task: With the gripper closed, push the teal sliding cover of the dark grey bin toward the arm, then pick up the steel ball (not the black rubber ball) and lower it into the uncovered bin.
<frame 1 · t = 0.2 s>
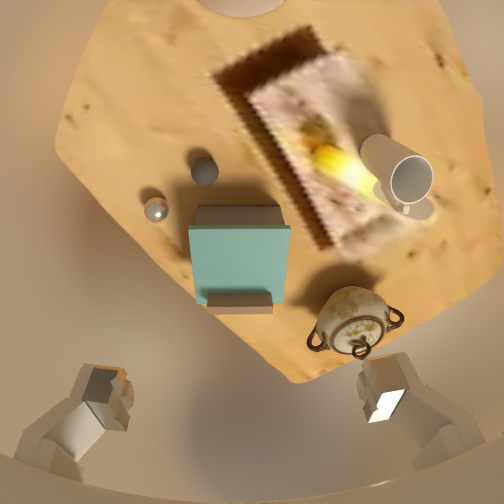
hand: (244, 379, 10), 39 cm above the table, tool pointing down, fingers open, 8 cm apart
sugar bowl: (345, 299, 62), on the table
mug: (376, 161, 45), on the table
lid: (239, 274, 45), point 9 cm above the table, slide at 0.0 cm
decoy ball: (206, 167, 45), on the table
steel ball: (159, 204, 48), on the table
bin: (239, 239, 53), on the table
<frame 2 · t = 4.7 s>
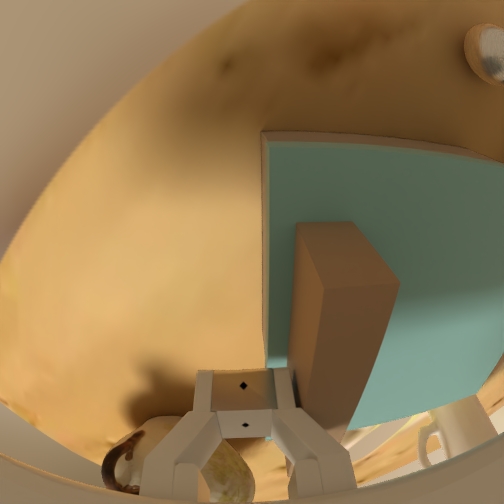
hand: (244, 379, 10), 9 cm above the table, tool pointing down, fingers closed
sugar bowl: (182, 431, 28), on the table
mug: (436, 399, 29), on the table
lid: (446, 350, 10), point 9 cm above the table, slide at 0.1 cm, touching gripper
steel ball: (473, 54, 12), on the table
bin: (367, 242, 18), on the table
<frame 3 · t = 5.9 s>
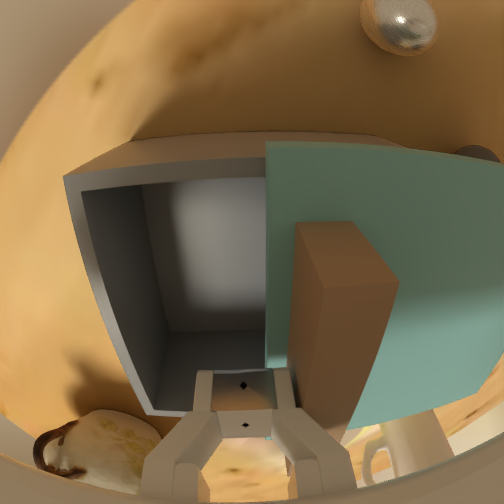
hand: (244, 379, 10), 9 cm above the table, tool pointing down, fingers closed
sugar bowl: (123, 426, 28), on the table
mug: (389, 412, 29), on the table
lid: (445, 349, 10), point 9 cm above the table, slide at 7.0 cm, touching gripper
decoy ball: (457, 169, 16), on the table
steel ball: (382, 25, 12), on the table
bin: (255, 246, 18), on the table
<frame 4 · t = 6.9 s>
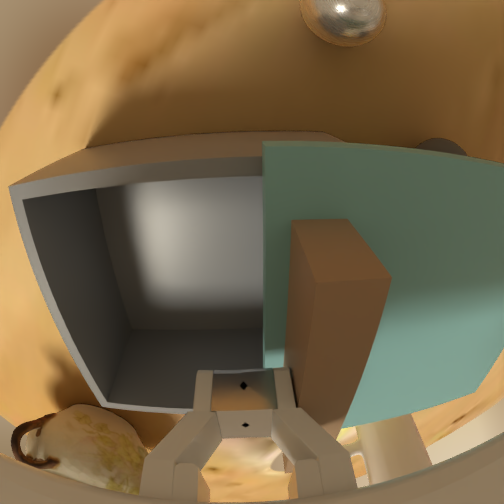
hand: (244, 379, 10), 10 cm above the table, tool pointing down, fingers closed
sugar bowl: (102, 421, 28), on the table
mug: (366, 416, 29), on the table
lid: (442, 347, 10), point 9 cm above the table, slide at 9.8 cm, touching gripper
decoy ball: (422, 165, 16), on the table
steel ball: (331, 17, 12), on the table
bin: (205, 246, 18), on the table
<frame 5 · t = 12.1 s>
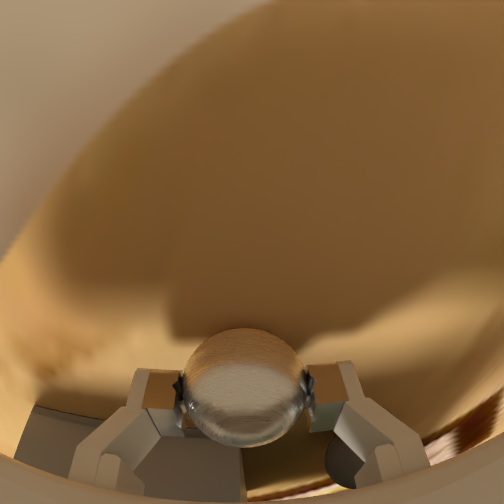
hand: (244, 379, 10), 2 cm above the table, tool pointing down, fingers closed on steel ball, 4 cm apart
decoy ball: (352, 428, 15), on the table
steel ball: (243, 345, 11), on the table, touching gripper
bin: (152, 465, 17), on the table
when the fingers open (6 cm above the table, at t = 18.7 s): steel ball drops 4 cm, resting on bin.
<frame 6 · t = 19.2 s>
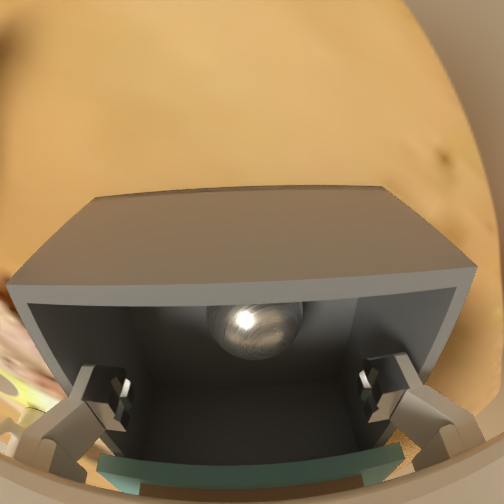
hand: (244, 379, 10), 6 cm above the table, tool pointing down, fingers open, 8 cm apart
mug: (39, 414, 23), on the table
steel ball: (239, 286, 14), point 1 cm above the table, tilted 17°, touching bin
bin: (242, 310, 16), on the table
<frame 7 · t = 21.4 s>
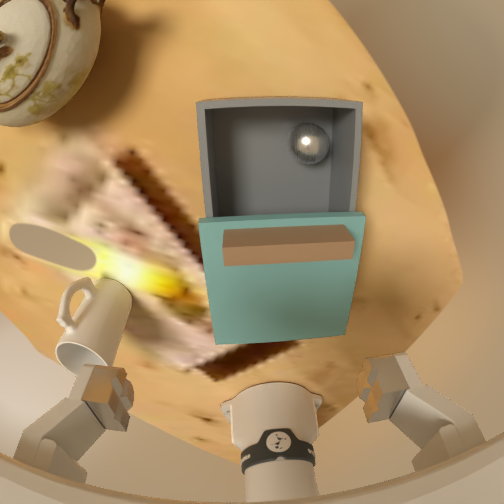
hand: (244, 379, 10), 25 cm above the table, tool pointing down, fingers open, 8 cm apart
sugar bowl: (62, 52, 23), on the table
mug: (106, 286, 38), on the table
lid: (285, 295, 27), point 9 cm above the table, slide at 10.0 cm
steel ball: (286, 143, 27), point 3 cm above the table, tilted 88°, touching bin
bin: (273, 158, 30), on the table
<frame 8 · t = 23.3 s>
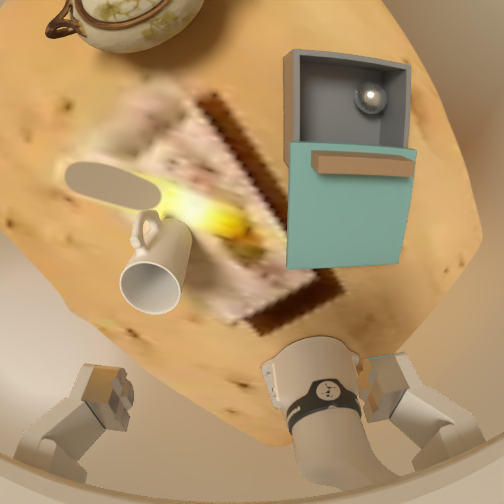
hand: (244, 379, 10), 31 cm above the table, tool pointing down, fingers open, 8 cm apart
sugar bowl: (152, 5, 26), on the table
mug: (166, 227, 41), on the table
lid: (357, 213, 30), point 9 cm above the table, slide at 10.0 cm
steel ball: (357, 96, 30), point 3 cm above the table, tilted 104°, touching bin
bin: (335, 111, 34), on the table
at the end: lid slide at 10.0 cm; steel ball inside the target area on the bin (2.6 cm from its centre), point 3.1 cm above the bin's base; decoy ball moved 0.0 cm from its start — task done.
